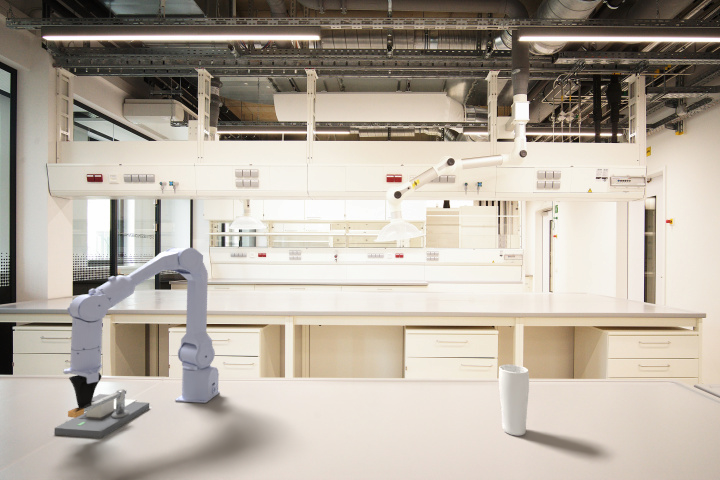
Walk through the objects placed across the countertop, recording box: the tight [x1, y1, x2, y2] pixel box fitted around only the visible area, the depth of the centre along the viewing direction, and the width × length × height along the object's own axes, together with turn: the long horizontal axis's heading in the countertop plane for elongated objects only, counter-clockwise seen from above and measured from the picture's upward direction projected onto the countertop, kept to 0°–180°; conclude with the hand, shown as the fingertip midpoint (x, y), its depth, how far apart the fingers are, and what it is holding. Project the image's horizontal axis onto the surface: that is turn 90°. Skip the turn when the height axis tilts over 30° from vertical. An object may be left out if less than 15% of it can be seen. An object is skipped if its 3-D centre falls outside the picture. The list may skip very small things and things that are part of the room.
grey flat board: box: [53, 398, 150, 439], centre depth 94 cm, size 12×17×2 cm
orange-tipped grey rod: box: [67, 389, 127, 419], centre depth 87 cm, size 14×2×5 cm, turn 167°
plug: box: [86, 393, 115, 418], centre depth 94 cm, size 6×4×4 cm, turn 83°
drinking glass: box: [498, 364, 530, 437], centre depth 89 cm, size 7×7×15 cm
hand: (84, 406), depth 85 cm, fingers closed
